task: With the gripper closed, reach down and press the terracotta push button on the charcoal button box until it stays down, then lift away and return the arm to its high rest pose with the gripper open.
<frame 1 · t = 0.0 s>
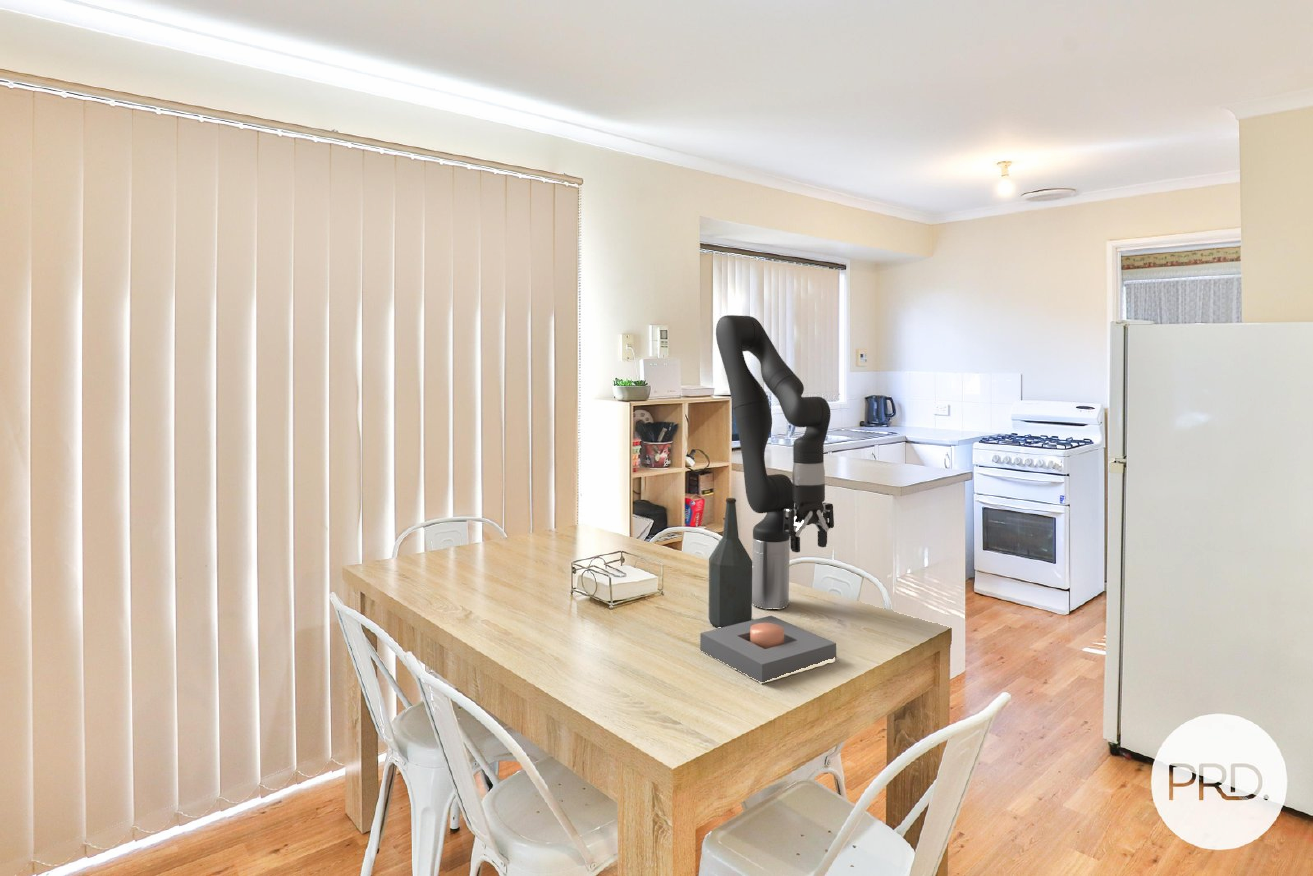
hand: (809, 549, 179), 17 cm above the table, tool pointing down, fingers open, 8 cm apart
bottle: (729, 624, 179), on the table
button box: (766, 656, 159), on the table
button cap: (767, 637, 158), point 4 cm above the table, slide at 0.0 cm
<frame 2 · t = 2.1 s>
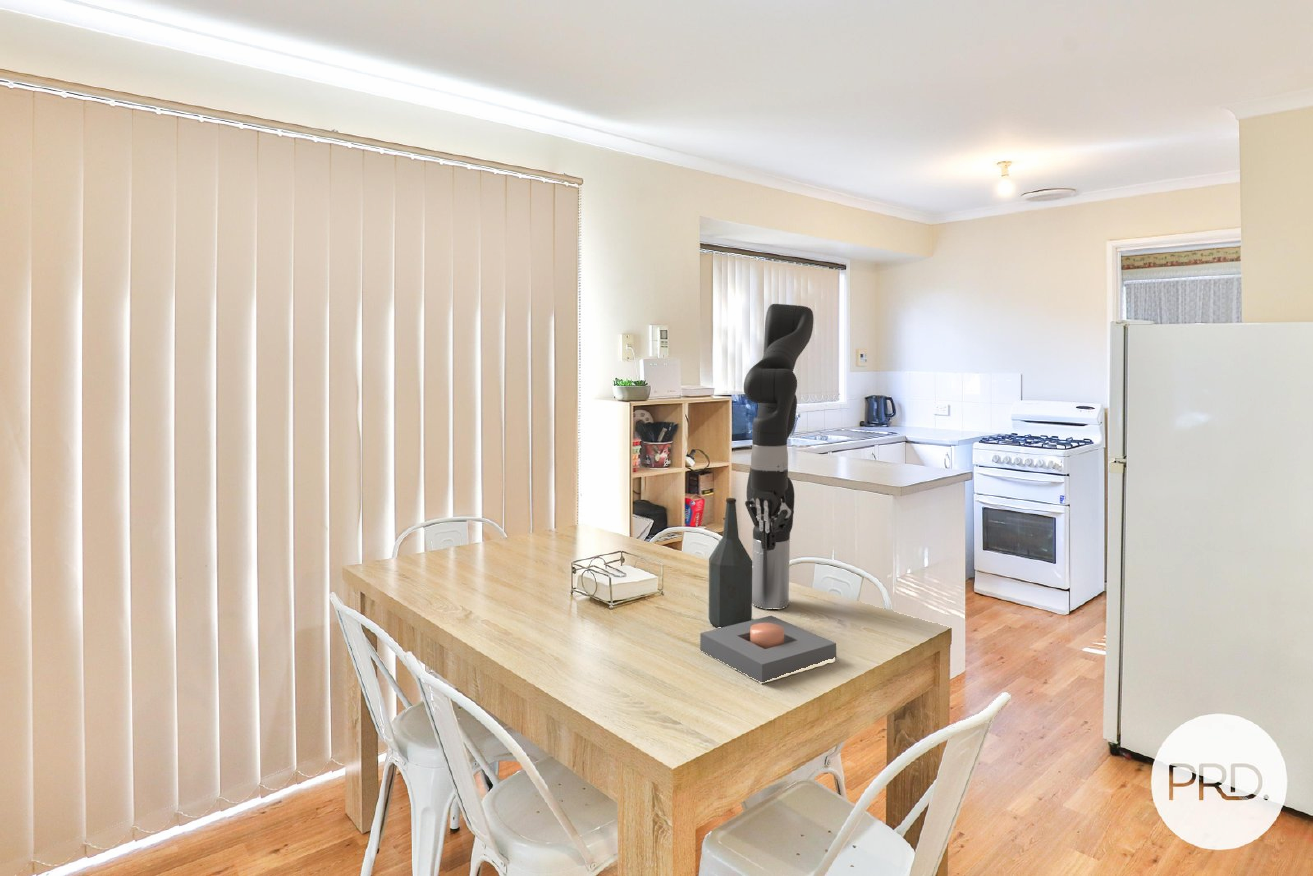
hand: (768, 549, 157), 23 cm above the table, tool pointing down, fingers closed
nothing on the table moved.
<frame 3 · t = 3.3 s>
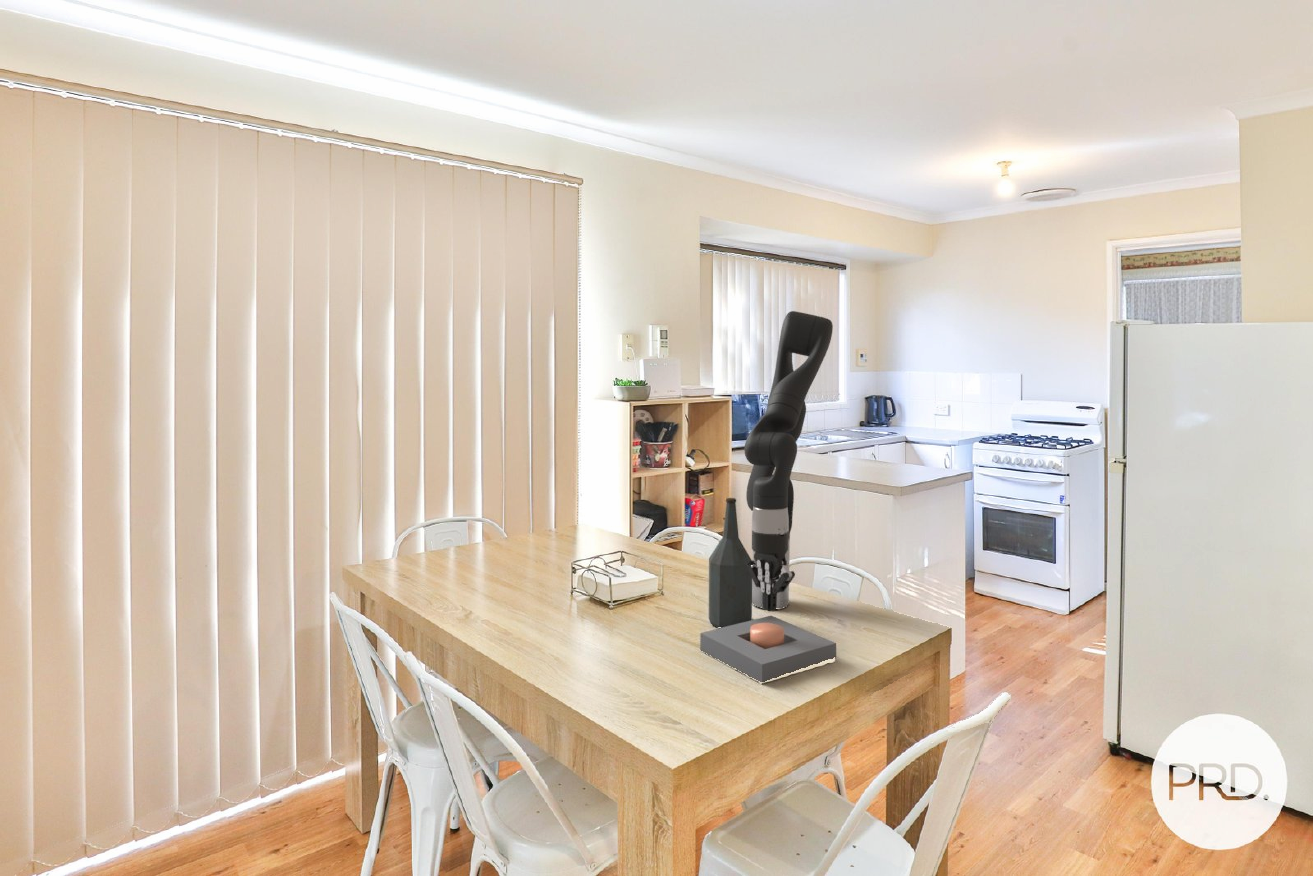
hand: (769, 610, 158), 10 cm above the table, tool pointing down, fingers closed
nothing on the table moved.
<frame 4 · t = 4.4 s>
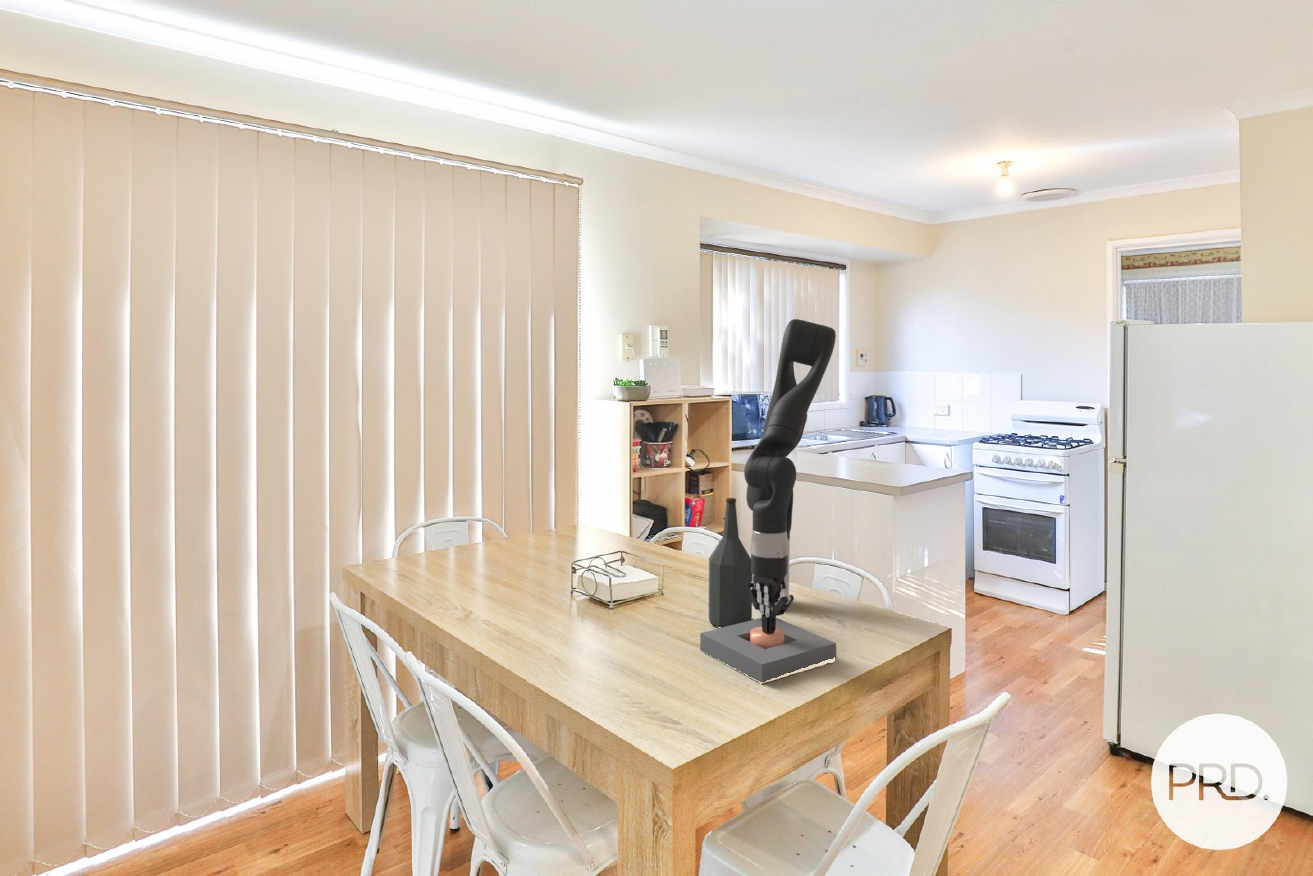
hand: (768, 632, 158), 5 cm above the table, tool pointing down, fingers closed
button cap: (767, 641, 159), point 3 cm above the table, slide at -0.8 cm, touching gripper
everything else where it was.
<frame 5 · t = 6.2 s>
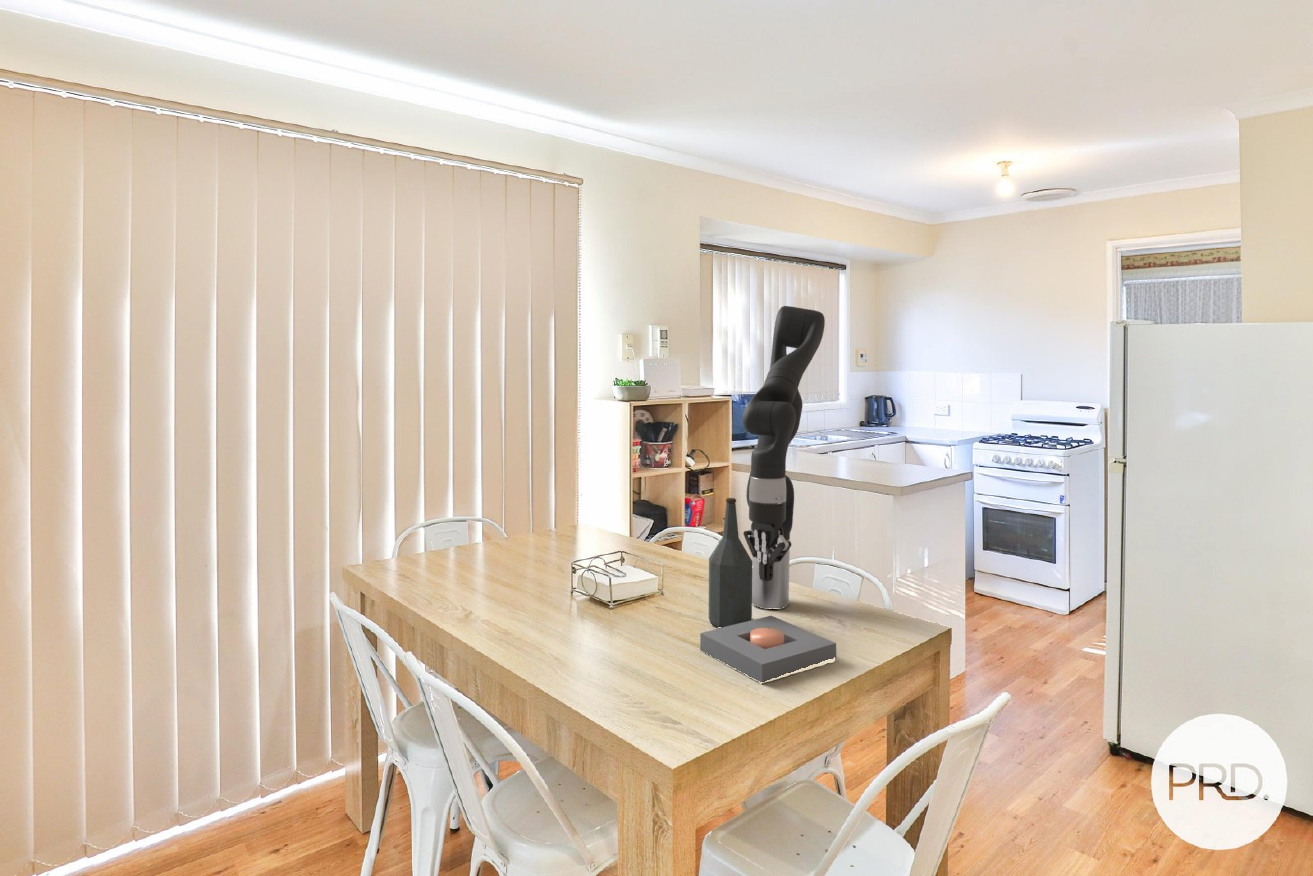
hand: (765, 580, 157), 16 cm above the table, tool pointing down, fingers closed
button cap: (767, 643, 159), point 3 cm above the table, slide at -1.1 cm
everything else where it was.
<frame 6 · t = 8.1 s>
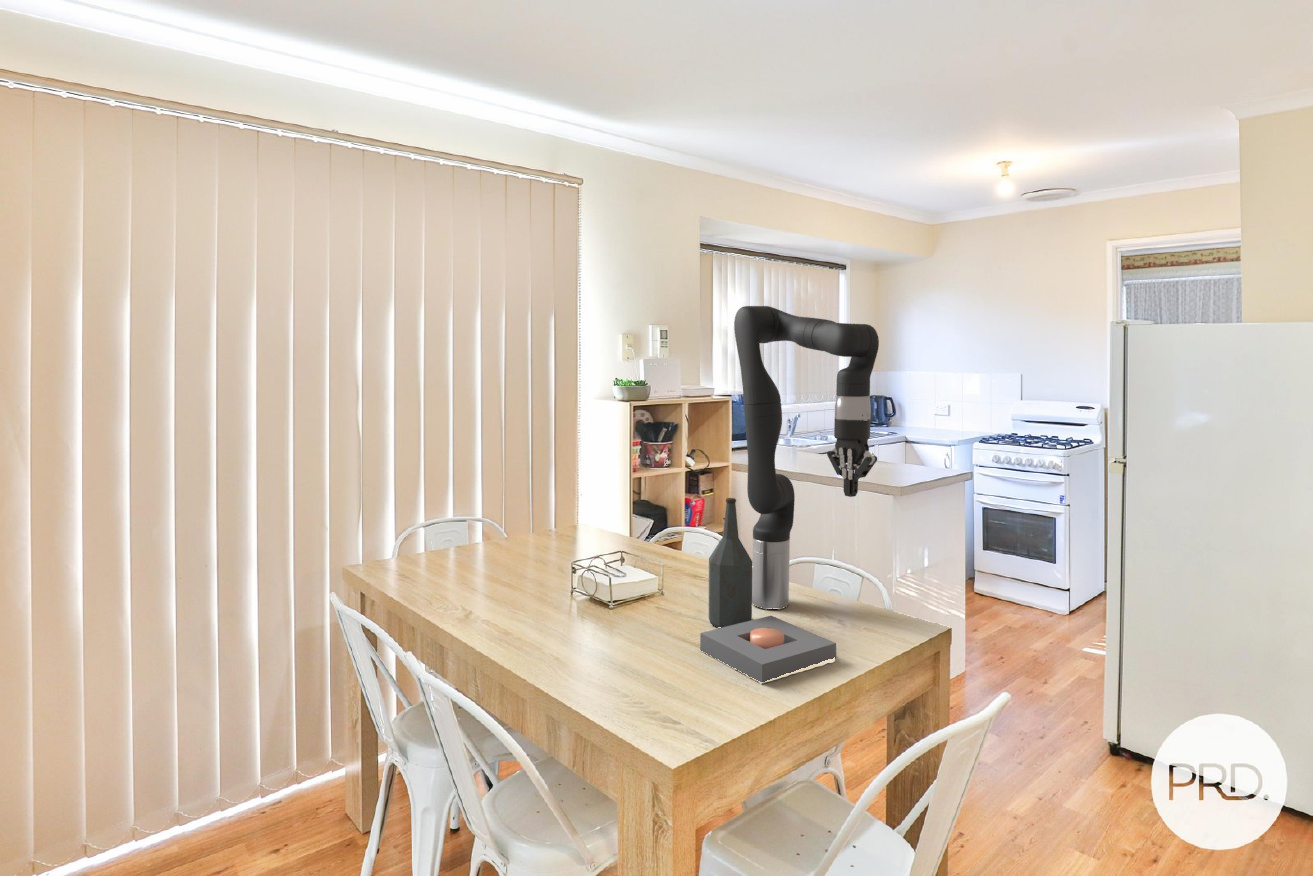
hand: (850, 496, 165), 32 cm above the table, tool pointing down, fingers closed
nothing on the table moved.
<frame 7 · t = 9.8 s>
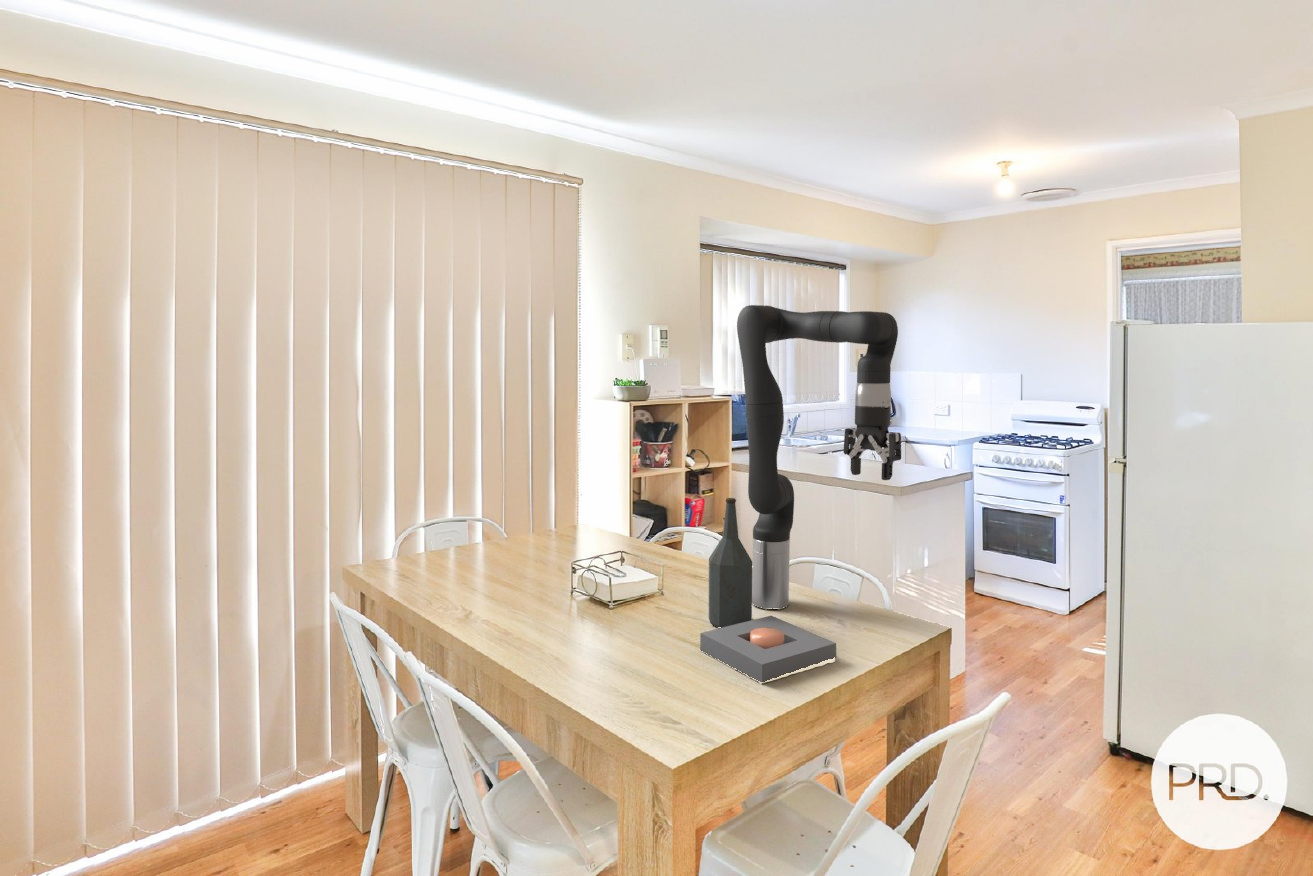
hand: (870, 477, 167), 36 cm above the table, tool pointing down, fingers open, 8 cm apart
nothing on the table moved.
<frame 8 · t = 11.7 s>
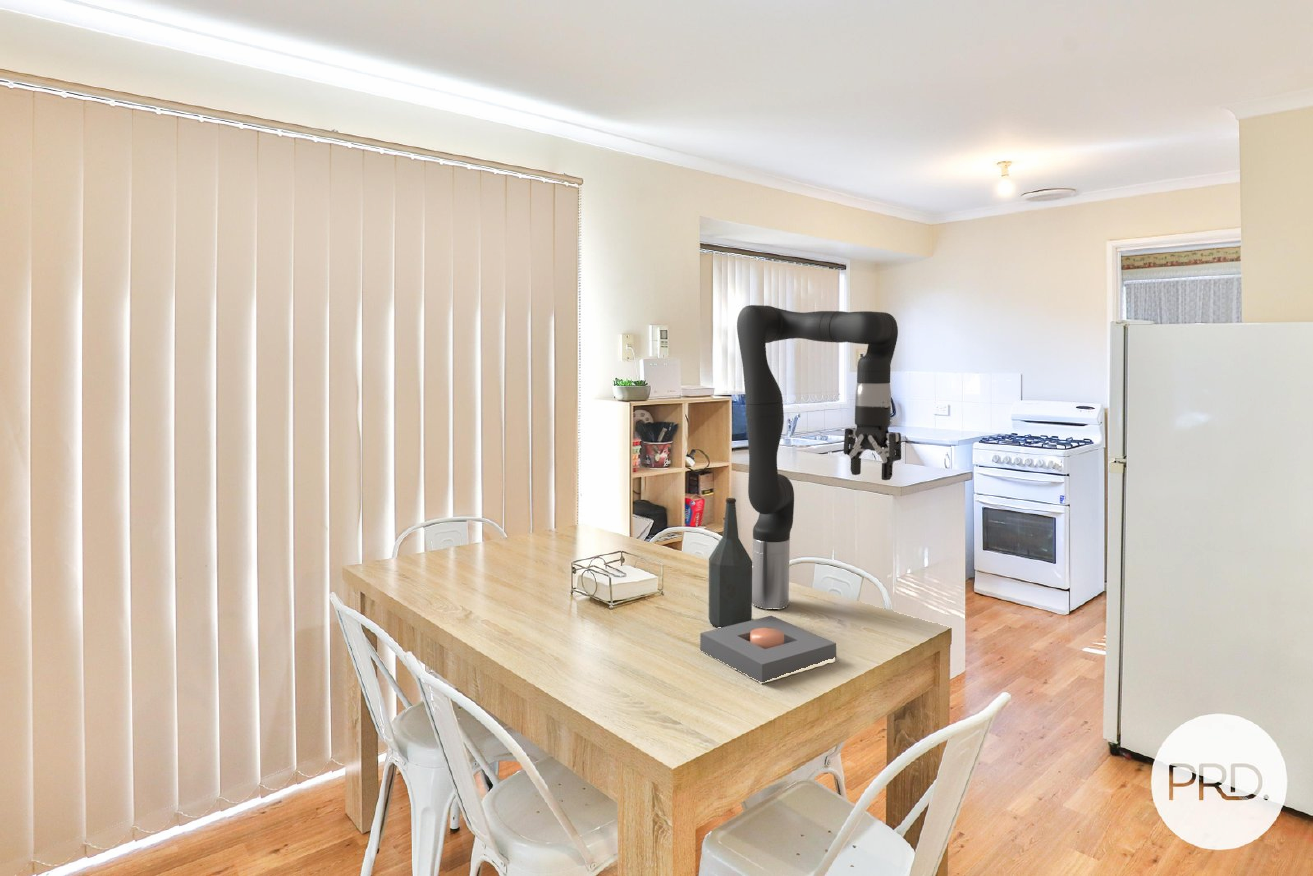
hand: (870, 477, 167), 36 cm above the table, tool pointing down, fingers open, 8 cm apart
nothing on the table moved.
at the end: button cap slide at -1.1 cm; bottle moved 0.2 cm from its start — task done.
